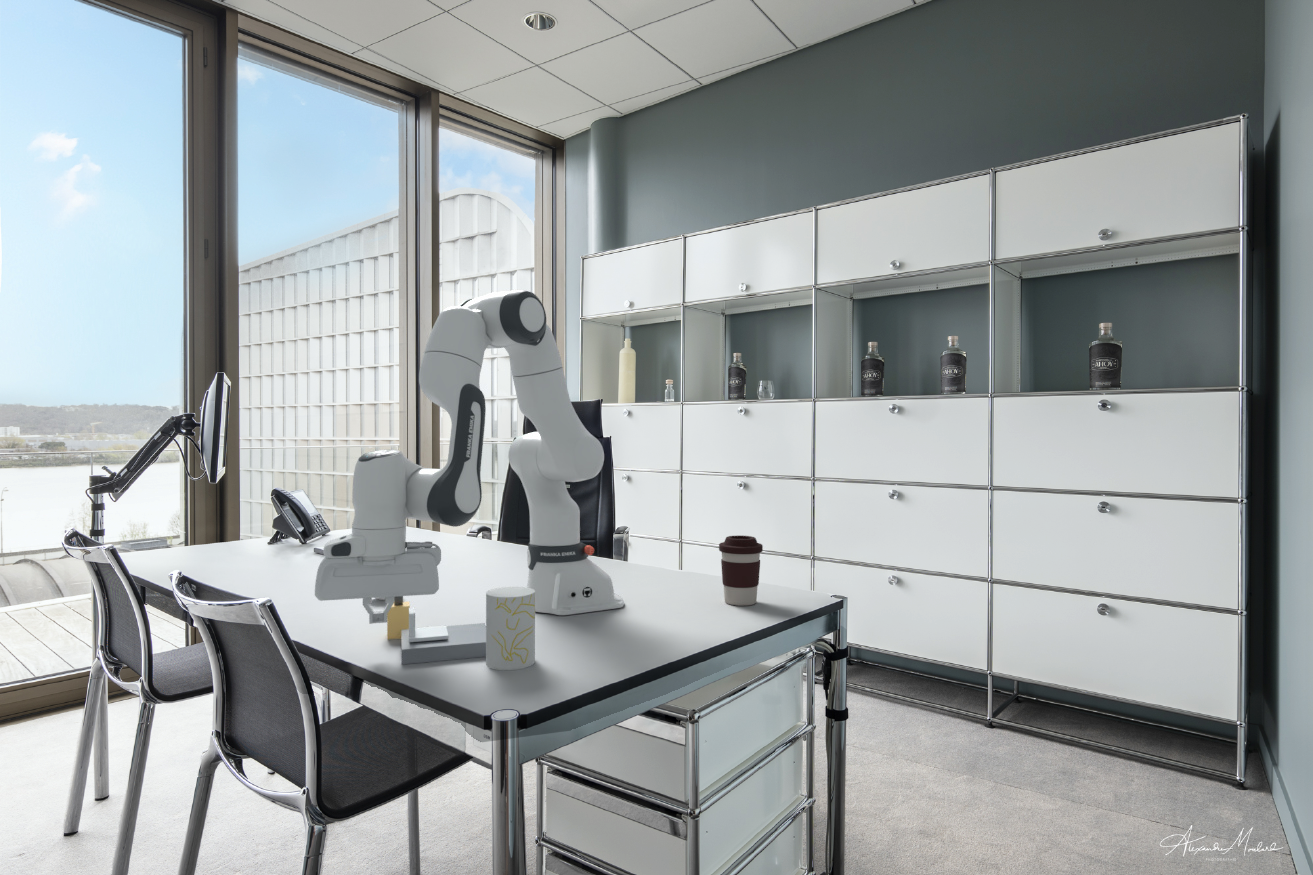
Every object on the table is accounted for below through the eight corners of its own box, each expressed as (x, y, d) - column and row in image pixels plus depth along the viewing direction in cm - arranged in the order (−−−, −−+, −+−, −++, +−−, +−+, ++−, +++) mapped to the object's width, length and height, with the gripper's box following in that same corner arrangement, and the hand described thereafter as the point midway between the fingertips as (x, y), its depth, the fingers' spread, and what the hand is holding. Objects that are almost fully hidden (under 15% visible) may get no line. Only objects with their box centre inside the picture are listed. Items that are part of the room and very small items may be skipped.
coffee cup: (732, 595, 176) (732, 533, 176) (769, 601, 171) (770, 536, 170) (710, 603, 168) (710, 537, 168) (749, 610, 162) (749, 541, 162)
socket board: (401, 643, 136) (401, 629, 136) (484, 635, 141) (484, 622, 141) (401, 664, 124) (401, 649, 124) (492, 655, 129) (492, 641, 129)
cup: (493, 672, 120) (493, 599, 120) (480, 658, 127) (480, 589, 127) (541, 665, 124) (541, 594, 124) (526, 652, 131) (526, 585, 131)
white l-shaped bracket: (408, 631, 134) (408, 606, 134) (446, 628, 136) (446, 603, 136) (409, 642, 127) (409, 615, 127) (448, 638, 129) (448, 612, 129)
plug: (409, 632, 144) (409, 591, 144) (409, 637, 140) (409, 595, 140) (387, 633, 143) (387, 592, 142) (387, 639, 139) (387, 597, 139)
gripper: (440, 538, 135) (439, 614, 135) (317, 542, 128) (317, 622, 128) (442, 543, 129) (441, 622, 129) (313, 548, 122) (312, 631, 122)
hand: (378, 622), depth 129 cm, fingers closed
